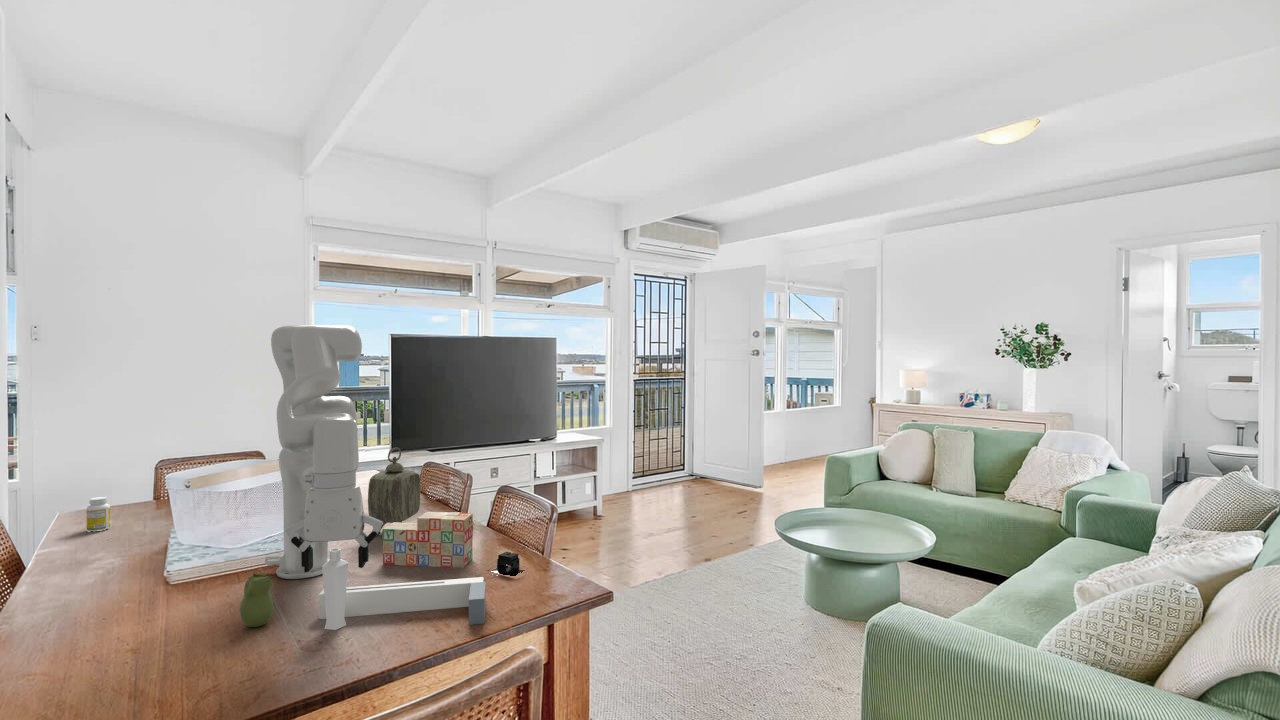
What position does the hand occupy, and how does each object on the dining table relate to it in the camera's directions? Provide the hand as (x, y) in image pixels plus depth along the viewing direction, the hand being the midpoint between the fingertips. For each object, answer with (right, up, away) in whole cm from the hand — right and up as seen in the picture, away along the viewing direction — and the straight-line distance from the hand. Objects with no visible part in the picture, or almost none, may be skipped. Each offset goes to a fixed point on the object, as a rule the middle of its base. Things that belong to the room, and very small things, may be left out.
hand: (335, 567), depth 121 cm
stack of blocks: (+5, -11, +38) cm, 39 cm away
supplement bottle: (-103, -11, +65) cm, 122 cm away
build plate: (+27, -12, +31) cm, 43 cm away
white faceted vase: (0, -12, +1) cm, 12 cm away
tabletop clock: (-13, -11, +64) cm, 66 cm away
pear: (-16, -12, +1) cm, 20 cm away
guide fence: (+11, -12, +4) cm, 17 cm away
